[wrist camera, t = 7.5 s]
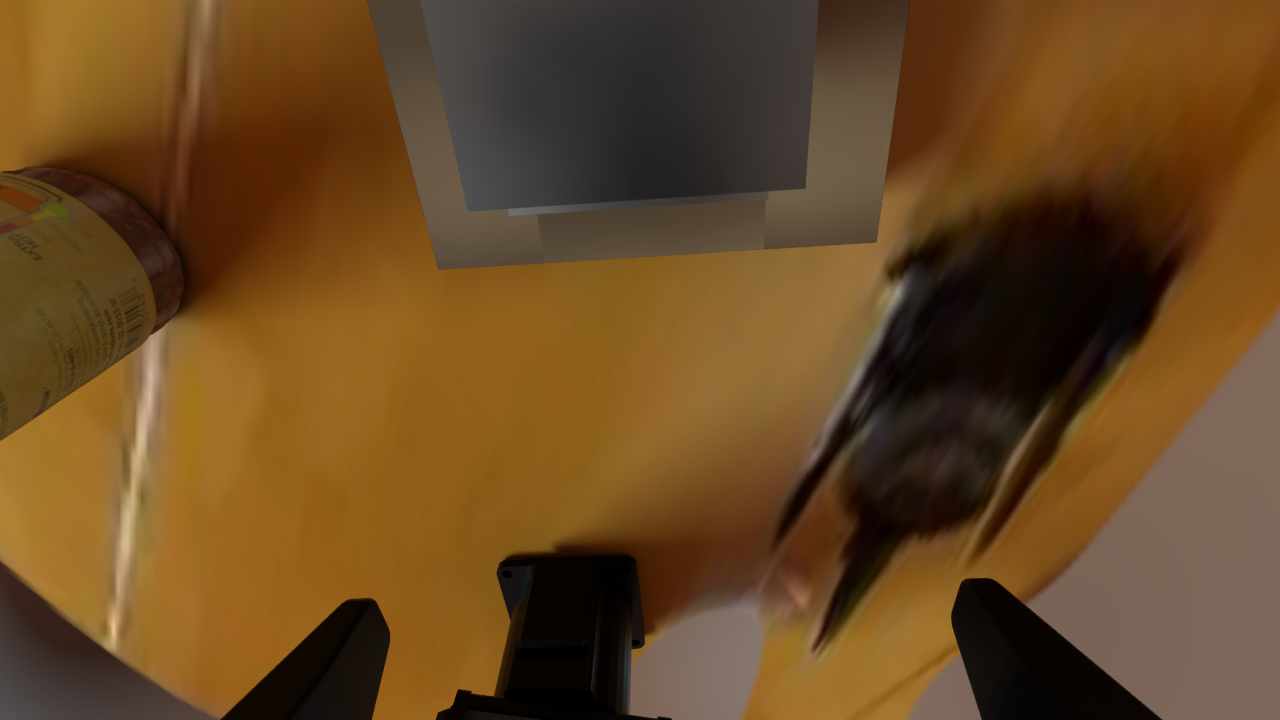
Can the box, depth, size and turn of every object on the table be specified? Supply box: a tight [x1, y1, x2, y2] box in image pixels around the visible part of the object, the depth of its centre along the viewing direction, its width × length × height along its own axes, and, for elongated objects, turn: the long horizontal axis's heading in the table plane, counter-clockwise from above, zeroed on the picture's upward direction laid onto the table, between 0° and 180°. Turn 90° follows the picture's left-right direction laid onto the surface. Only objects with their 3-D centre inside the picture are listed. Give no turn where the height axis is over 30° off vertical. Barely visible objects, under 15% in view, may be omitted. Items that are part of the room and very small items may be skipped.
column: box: [420, 0, 819, 216], centre depth 9 cm, size 5×4×8 cm
